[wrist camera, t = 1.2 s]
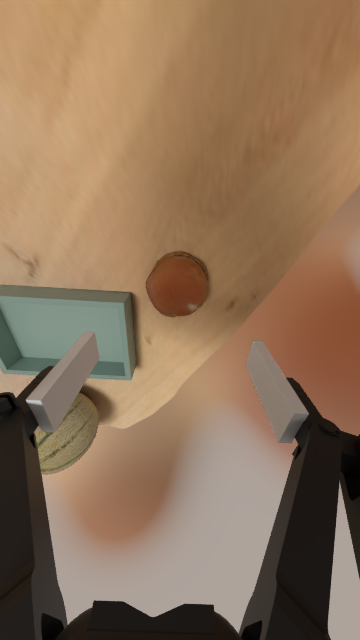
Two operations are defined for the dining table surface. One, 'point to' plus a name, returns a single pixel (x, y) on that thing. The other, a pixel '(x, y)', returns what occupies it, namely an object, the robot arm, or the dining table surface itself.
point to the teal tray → (65, 329)
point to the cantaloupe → (68, 437)
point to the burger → (177, 284)
